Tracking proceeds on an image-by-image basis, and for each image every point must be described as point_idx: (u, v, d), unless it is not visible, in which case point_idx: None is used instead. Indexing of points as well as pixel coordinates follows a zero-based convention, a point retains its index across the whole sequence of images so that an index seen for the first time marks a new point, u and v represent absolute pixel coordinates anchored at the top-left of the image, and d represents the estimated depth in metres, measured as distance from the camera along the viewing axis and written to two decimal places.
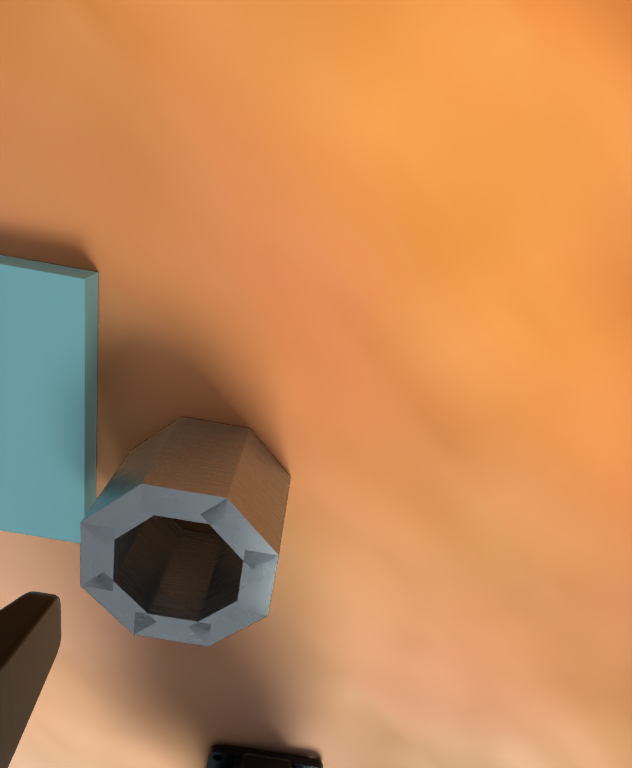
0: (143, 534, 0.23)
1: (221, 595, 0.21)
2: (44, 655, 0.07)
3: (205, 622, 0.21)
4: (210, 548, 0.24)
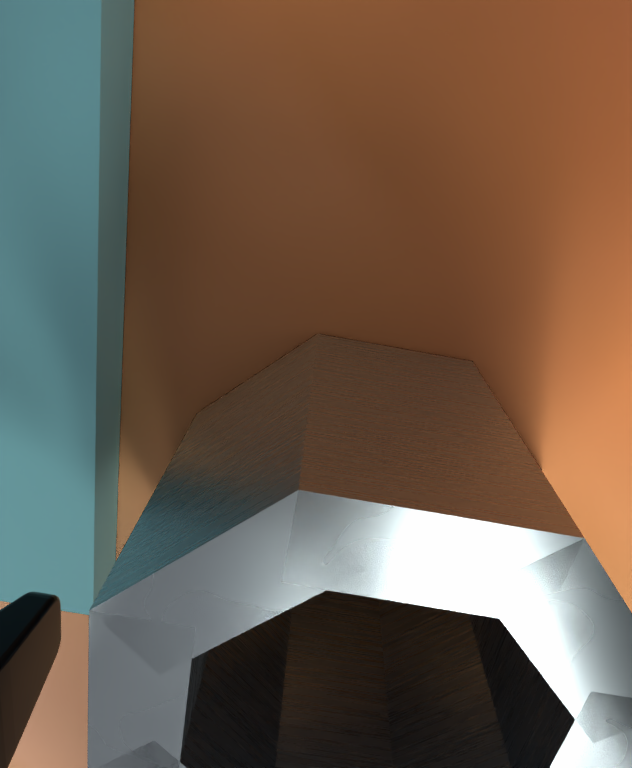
0: None
1: None
2: (44, 655, 0.07)
3: None
4: (361, 625, 0.11)
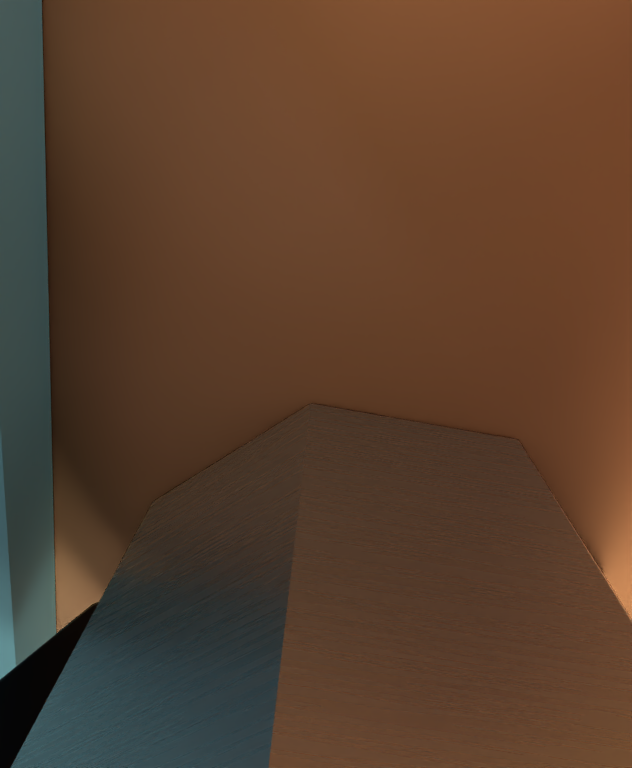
0: None
1: None
2: None
3: None
4: None
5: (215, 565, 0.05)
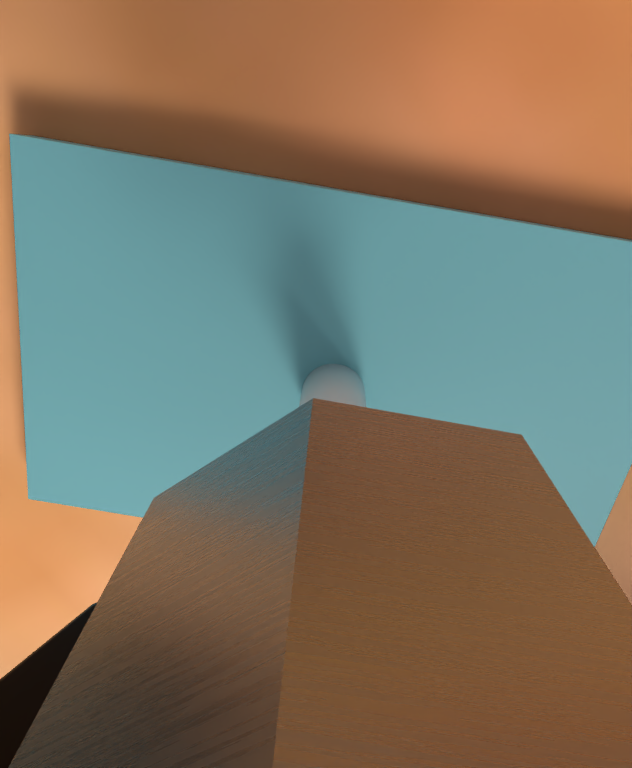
0: None
1: None
2: None
3: None
4: None
5: (217, 559, 0.05)
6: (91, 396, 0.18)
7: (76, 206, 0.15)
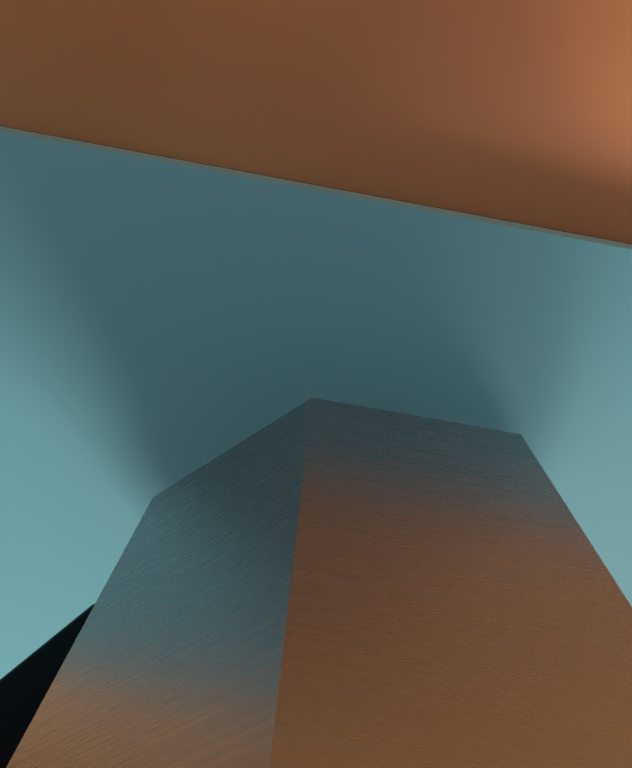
0: None
1: None
2: None
3: None
4: None
5: (216, 559, 0.05)
6: None
7: None
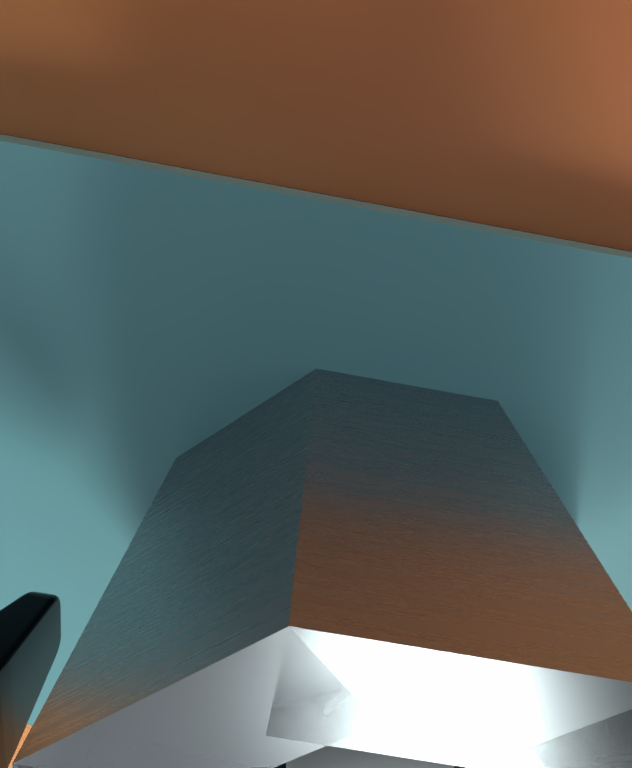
0: None
1: None
2: (44, 655, 0.07)
3: None
4: None
5: (238, 492, 0.06)
6: None
7: None
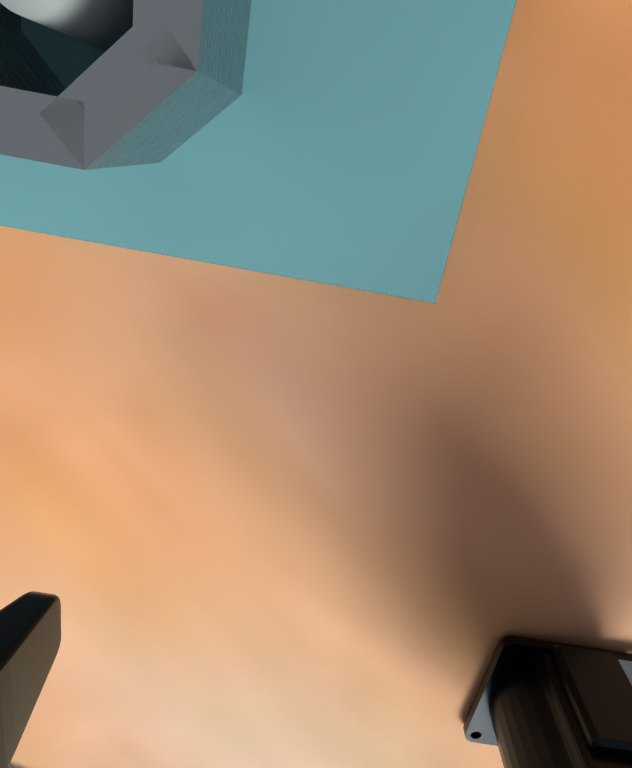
0: None
1: None
2: (44, 655, 0.07)
3: (72, 98, 0.10)
4: None
5: None
6: None
7: None
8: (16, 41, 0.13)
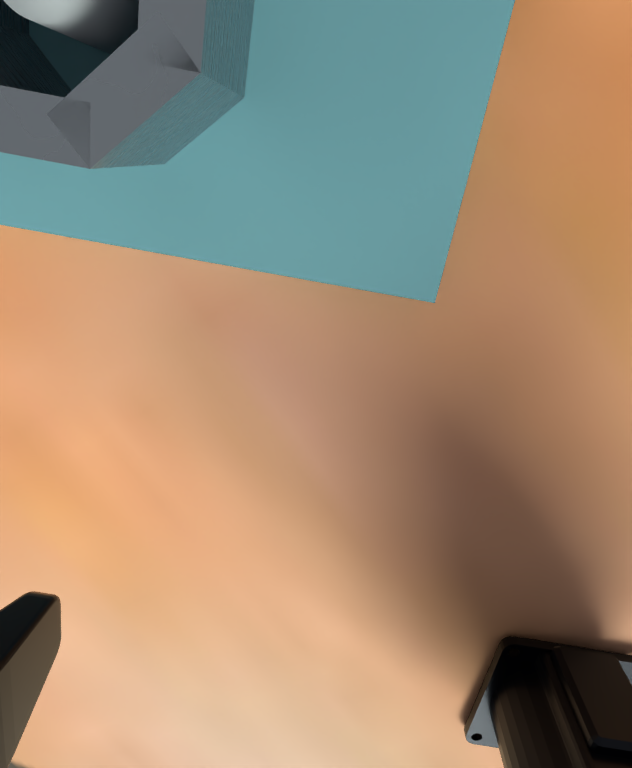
0: None
1: None
2: (44, 655, 0.07)
3: (79, 98, 0.10)
4: None
5: None
6: None
7: None
8: (24, 45, 0.14)
